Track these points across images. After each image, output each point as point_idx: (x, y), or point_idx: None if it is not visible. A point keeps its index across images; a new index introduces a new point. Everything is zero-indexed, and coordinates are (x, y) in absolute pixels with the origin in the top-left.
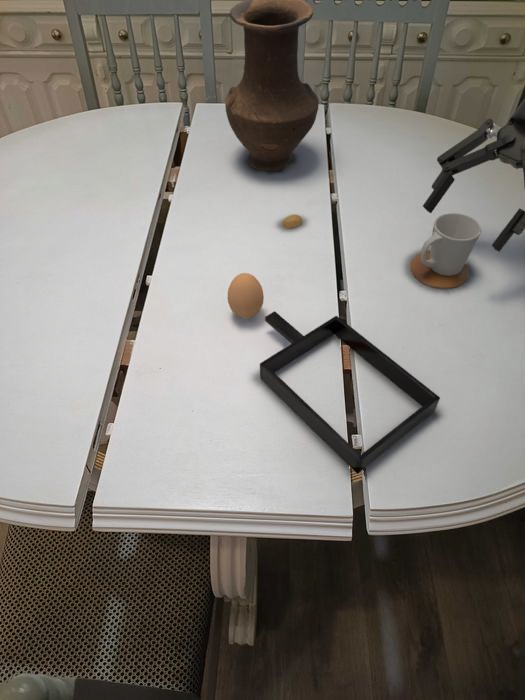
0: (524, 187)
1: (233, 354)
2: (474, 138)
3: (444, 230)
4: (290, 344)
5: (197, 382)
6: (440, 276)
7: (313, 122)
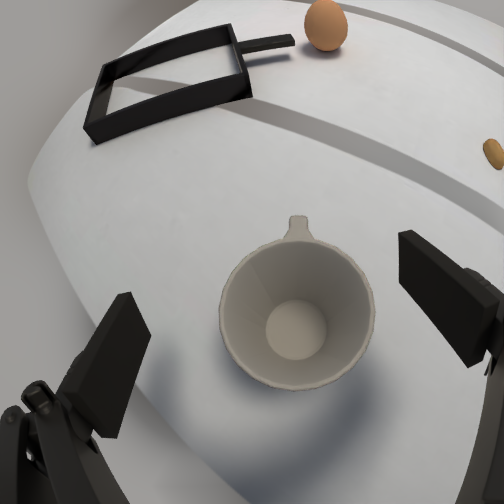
0: (84, 473)
1: (275, 33)
2: None
3: (348, 327)
4: (235, 38)
5: (259, 18)
6: None
7: None
